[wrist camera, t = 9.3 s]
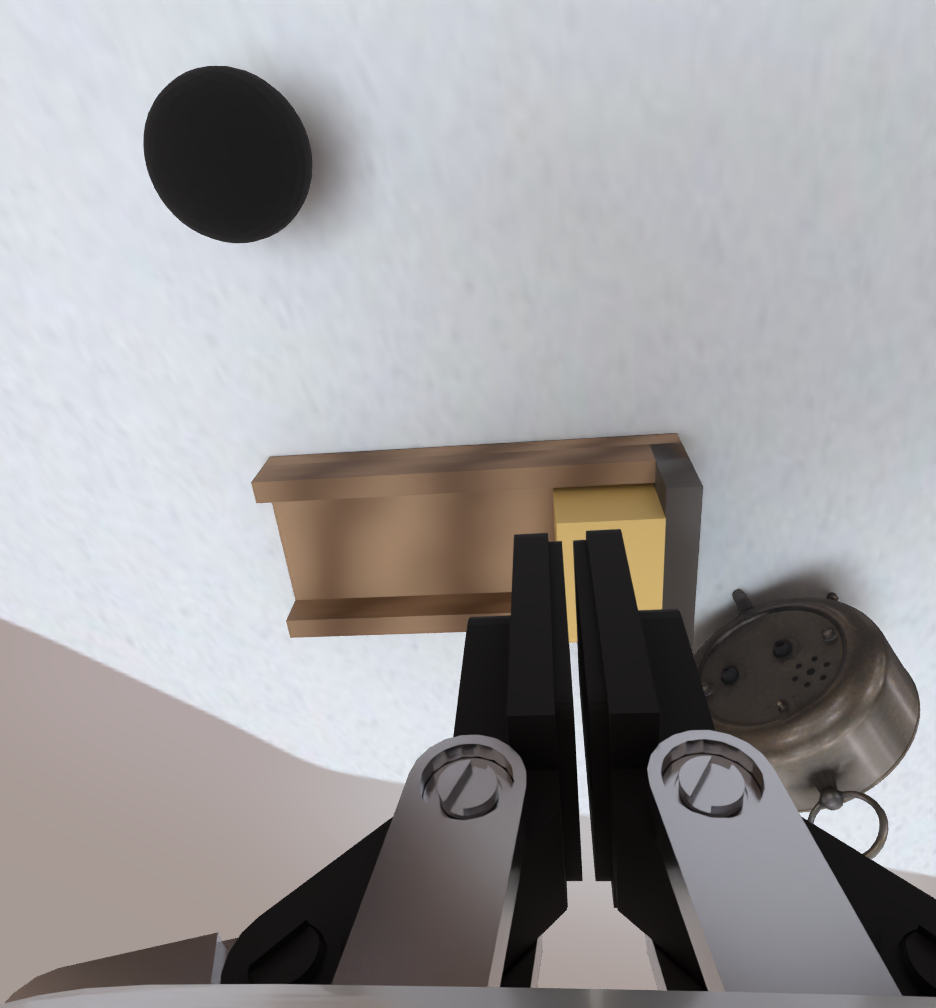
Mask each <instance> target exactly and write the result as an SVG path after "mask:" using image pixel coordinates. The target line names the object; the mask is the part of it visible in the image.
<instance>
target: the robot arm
mask: <svg viewBox="0 0 936 1008" xmlns="http://www.w3.org/2000/svg"><path fill="white" fill-rule="evenodd" d="M573 557H574V579H575V601H576V623H577V645H578V667H579V685H580V699H581V711H582V723H583V735H584V747H585V759H586V771H587V783H588V796H589V808H590V820H591V831H592V844H593V856H594V868H595V879H596V881H611V884H612V894H613V903H614V908H618V911H619V912H621V913H622V914H623V915H624V916H625V917H627V918H628V919H629V920H630V921H631V922H632V923H633V924H634V925H636V926H637V927H638V928H639V929H640V930H641V931H643V932H644V933H645V938H646V946H647V953H648V956H649V960H650V964H651V967H652V971H653V974H654V978H655V981H656V985H657V988H658V990H613V989H612V990H611V989H560V988H537V987H538V979H539V971H540V965H541V957H542V934H543V933H544V932H545V931H546V930H547V929H548V928H549V927H550V926H551V925H552V924H553V923H554V922H555V921H556V920H557V919H558V918H559V917H560V916H561V915H562V914H563V913H564V912H565V911H566V910H567V907H568V903H567V881H582V861H581V844H580V843H581V841H580V822H579V802H578V783H577V763H576V744H575V725H574V708H573V693H572V678H571V664H570V650H569V635H568V621H567V607H566V592H565V578H564V564H563V549H562V541H551V542H549V540H548V533H532V534H514V546H513V570H512V594H511V615H506V616H481V617H469V619H468V624H467V631H466V639H465V647H464V655H463V663H462V671H461V679H460V688H459V696H458V704H457V712H456V720H455V728H454V736H453V738H449V739H445V740H443V741H441V742H439V743H438V744H436V745H434V746H432V747H430V748H429V749H428V750H427V751H426V752H424V753H423V754H422V755H421V756H420V757H419V758H418V759H417V760H416V762H415V764H414V766H413V767H412V769H411V771H410V773H409V775H408V778H407V780H406V783H405V786H404V789H403V791H402V794H401V797H400V800H399V802H398V805H397V808H396V810H395V813H394V816H393V817H392V818H391V819H389V820H388V821H387V822H385V823H384V824H382V825H381V826H380V827H378V828H377V829H376V830H375V831H373V832H372V833H370V834H369V835H368V836H366V837H365V838H364V839H362V840H361V841H360V842H358V843H357V844H356V845H354V846H353V847H352V848H350V849H349V850H348V851H346V852H345V853H344V854H342V855H341V856H340V857H338V858H337V859H336V860H334V861H333V862H332V863H330V864H329V865H328V866H326V867H325V868H324V869H322V870H321V871H320V872H318V873H317V874H316V875H314V876H313V877H312V878H310V879H309V880H307V881H306V882H305V883H303V884H302V885H301V886H299V887H298V888H297V889H295V890H294V891H293V892H291V893H290V894H289V895H287V896H286V897H285V898H283V899H282V900H281V901H279V902H278V903H277V904H275V905H274V906H273V907H271V908H270V909H269V910H267V911H266V912H265V913H263V914H262V915H261V916H259V917H258V918H257V919H256V920H255V921H254V922H253V923H252V924H251V925H250V926H248V927H247V929H245V930H244V931H243V932H242V933H241V935H240V936H239V938H235V939H230V940H225V941H221V938H220V936H219V934H218V933H213V934H209V935H204V936H200V937H196V938H191V939H186V940H182V941H178V942H173V943H168V944H164V945H160V946H155V947H151V948H146V949H142V950H137V951H133V952H128V953H124V954H119V955H115V956H111V957H106V958H102V959H97V960H92V961H88V962H84V963H79V964H75V965H71V966H66V967H61V968H58V969H55V970H53V971H50V972H48V973H45V974H43V975H40V976H37V977H36V978H34V979H33V980H31V981H30V982H29V983H27V984H26V985H24V986H23V987H21V988H20V989H19V990H17V991H16V992H14V993H13V994H12V995H11V996H10V998H9V999H8V1000H7V1001H6V1002H5V1003H4V1004H0V1008H936V899H934V898H933V897H931V896H930V895H928V894H926V893H925V892H923V891H921V890H920V889H918V888H917V887H915V886H913V885H912V884H910V883H908V882H907V881H905V880H904V879H902V878H900V877H899V876H897V875H895V874H894V873H892V872H890V871H889V870H887V869H886V868H884V867H882V866H881V865H879V864H877V863H876V862H874V861H873V860H871V859H869V858H868V857H866V856H864V855H863V854H861V853H860V852H858V851H856V850H855V849H853V848H851V847H850V846H848V845H847V844H845V843H843V842H842V841H840V840H838V839H837V838H835V837H834V836H832V835H830V834H829V833H827V832H825V831H824V830H822V829H821V828H819V827H817V826H816V825H814V824H812V823H811V822H809V821H808V820H806V819H804V818H803V817H801V816H800V814H799V812H798V810H797V809H796V807H795V805H794V803H793V801H792V800H791V798H790V796H789V794H788V793H787V791H786V789H785V787H784V786H783V784H782V782H781V780H780V778H779V777H778V775H777V773H776V771H775V770H774V768H773V767H772V765H771V764H770V763H769V762H768V760H767V759H766V758H765V756H764V755H763V754H762V753H761V752H759V751H758V750H757V749H755V748H754V747H753V746H751V745H750V744H749V743H747V742H745V741H743V740H741V739H739V738H736V737H734V736H732V735H730V734H726V733H721V732H716V731H715V728H714V724H713V721H712V717H711V714H710V711H709V707H708V704H707V700H706V697H705V694H704V690H703V687H702V683H701V680H700V677H699V673H698V670H697V666H696V663H695V660H694V656H693V653H692V649H691V646H690V643H689V639H688V636H687V632H686V629H685V626H684V622H683V619H682V616H681V613H680V611H679V610H678V609H659V610H638V607H637V602H636V598H635V593H634V588H633V583H632V579H631V574H630V569H629V564H628V560H627V555H626V550H625V545H624V541H623V536H622V532H621V529H609V530H590V531H586V540H573Z"/></svg>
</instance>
